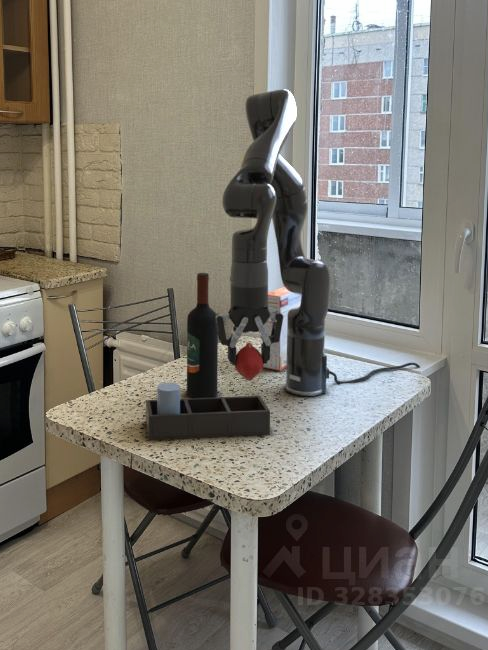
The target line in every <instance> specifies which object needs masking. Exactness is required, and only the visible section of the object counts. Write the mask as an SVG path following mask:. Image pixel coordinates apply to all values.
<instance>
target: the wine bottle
mask: <svg viewBox="0 0 488 650" xmlns="http://www.w3.org/2000/svg"><path fill="white" fill-rule="evenodd" d="M209 274H210V273H207V272H197V274H196V275H197V276H196V281H197V282H196V285H197V286H196V307H194V308H193V309H192V310H190V311H189V313H188V314H187V317H186V318H187V319H186V396H187V398H211V397H218V371H219V370H218V365H219V364H218V363H219V362H218V361H219V360H218V359H219V358H218V357H219V356H218V355H219V354H218V353H219V338H218V332H217V325H216V319H215V315H216V314H217V312H215V311H214V309H212V308H211V307H210V305H209V281H210V276H209Z"/></svg>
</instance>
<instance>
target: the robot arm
mask: <svg viewBox="0 0 488 650" xmlns="http://www.w3.org/2000/svg"><path fill="white" fill-rule="evenodd" d="M296 104H297V103H296V100H295V98H294V95H293V94H292V92H291V91H290V90H288V89H275V90H271V91H265V92H261V93H256V94H255V93H254V94H251V95H249V96H248V97H247V98H246V100H245V107H244V108H245V116H246V120H247V124H248V128H249V132H250V134H251V138H252V142H251V143H250V145H249V146H248V147H247V149H246V151H245V152H244V155H243V158H242V162H241V165H240V169H239V170H238V171H237V172H236V173H235V175H234V176H233V177H232V178H231V180H230V181H229V183H228V184H227V185H226V187H225V189H224V191H223V194H222V199H221V205H222V208H223V211H224V212H225V214H226V215H227V216H229V217H230V218H233V219H256V223H255V225H254V226H253V227H250V228H244V229H240V230H239V229H238V230H236V231H235V232H233V233H232V236H231V266H230V275H229V281H230V308H229V310H228V312H226V313H222V314H221V313H218V312H216V315H215V319H216V325H217V332H218V342H220V344H221V345H222V346H227V359H228V362H229V363H230V364H231V365H232V366H235V365H236V355H237V347H236V345H237V343H238V341H239V339H240V338H241V336H242V334H247V333H250V332H251V333H258V334H259V336H260V339H261V341H262V343H260V354H261V356H262V358H263V364H267V361H269V360H270V345H271V344H272V343H275V342H276V343H278V342H279V340H280V335H281V329H282V323H283V315H282V314H281V313H280V312H279V311H276V312H270V311H269V309H268V292H269V266H268V237H269V230H270V226H271V222H272V226H273V230H274V236H275V239H276V246H277V255H278V261H279V262H278V263H279V264H278V265H279V273H280V278H281V282H282V284H283V287H284V286H285V288H286V289H287V290H288V291H290V292H292V293H295V294H298V295H301V304H300V307H297V308H293V309H291V310H289V312H288V316H287V364H286V368H285V370H286V371H285V390H286V391H287V392H289V393H290V394H292V395H296V396H301V397H314V396H316V397H317V396H320V395H322V394H327V379H330V375H331V376H333V381H334V383H336V384H340V385H341V384H353V383H358V382H361V381H364V380H367V379H369V378H370V377H371V376H372V375H373V374H375V373H378V372H383V371H391V370H399V369H403V368H406V367H409V366H415V367H417V368H418V369H419V368H421V366H420V365H419V364H418V363H416V362H407V363H405V364H401V365H397V366H386V367H381V368H376V369H373V370H371V371H370V372H368V374H367V375H365V376H362V377H358V378H355V379H351V380H347V381H341V380H338V376H337V374H336V373H335V372H333V371H331V370H330V368H329V367H328V366H327V365H328V356H327V355H326V354H325V339H326V337H325V335H326V317H327V315H328V312H329V306H330V295H331V294H330V293H331V272H330V268H329V267H328V265H327V264H326V263H325V262H324V261H321V260H316V259H312V258H306V256H305V253H304V249H303V246H302V231H303V227H304V224H305V221H306V218H307V214H308V210H309V204H308V198H307V193H306V190H305V189H306V188H305V184H304V180H303V179H302V176H300V174H299V173H298V172H297V171H296V169H294V167H292V166H291V164H290V163H289V162H288V161H287V160H285V158H284V157H283V156H282V155H281V151H282V150H283V148H284V146H285V144H286V142H287V140H288V139H289V137H290V135H291V132H292V131H293V129H294V126H295V125H296V121H297V105H296ZM269 317H271V321H272V322H273V326H272V332H271V335H270V336H268V334H267V332H266V330H265V328H264V324H265V323H266V321H267V320H268V319H269ZM228 320H230V321H231V322H232V324H233V326H232V328H231V330H230V334H229V336H228V337H227V333H226V327H225V326H226V325H227V324H228Z"/></svg>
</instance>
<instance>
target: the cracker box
mask: <svg viewBox="0 0 488 650" xmlns="http://www.w3.org/2000/svg"><path fill="white" fill-rule="evenodd" d="M300 304H301V295H298V294H295V293H292V292H290V291H288V290H287V289H286V288H285V286H284V285H283V286H282V287H279V288H276V289H274V290H271V291H268V309H269V311H270V312H276V311H279V312H280V313H281V314H282V315H283V323H282V329H281V335H280V340H279V342H278V343H276V342H275V343H272V344H271V345H270V360H269V361H267V364H263V368H262V369H267V370H273V371H278V372H281V371H283V370H286V364H287V316H288V312H289V310H291V309H293V308H297V307H300ZM272 326H273V322H272V321H271V317H269V319H268V320H267V321H266V323H265V324H264V328H265V330H266V332H267V334H268V336H270V335H271V332H272Z"/></svg>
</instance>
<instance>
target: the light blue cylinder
mask: <svg viewBox="0 0 488 650" xmlns="http://www.w3.org/2000/svg"><path fill="white" fill-rule="evenodd" d="M180 399H181V385H180V384H179V383H175V382H162V383H159V384H157V386H156V400H157V415H162V414H180Z"/></svg>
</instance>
